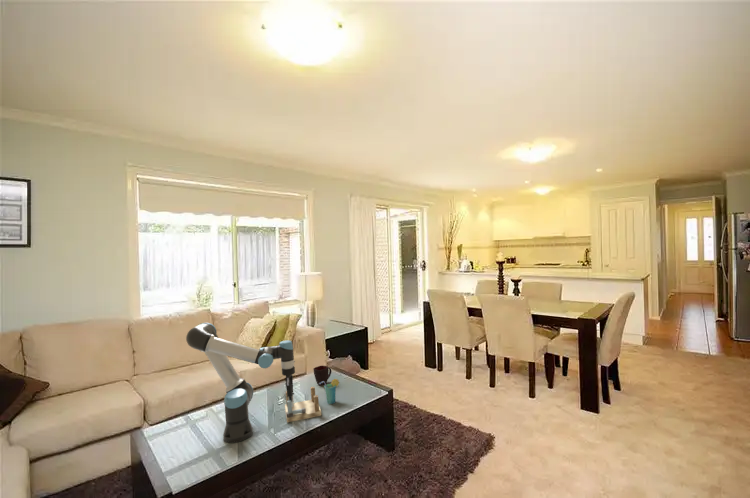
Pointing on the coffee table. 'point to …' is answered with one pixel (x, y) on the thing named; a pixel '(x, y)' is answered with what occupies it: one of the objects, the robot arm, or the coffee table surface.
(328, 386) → the cup
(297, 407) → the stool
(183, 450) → the coffee table surface
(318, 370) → the mug
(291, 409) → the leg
